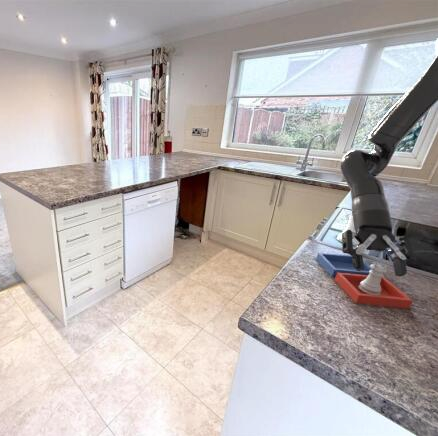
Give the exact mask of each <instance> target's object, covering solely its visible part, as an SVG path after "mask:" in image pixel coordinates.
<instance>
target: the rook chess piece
mask: <svg viewBox="0 0 438 436" xmlns="http://www.w3.org/2000/svg"><path fill="white" fill-rule="evenodd" d="M369 265H370V267H371V270H370V271H369V272H370V273H369V275H368V277H367V278H366V279H365V280H364V281H362V282H360V285H359V289H360V290H361V291H362V292H364V293H366V294H371V295H380V292H381V290H382V289H381V285H380V282H381V278H382V277H385V275H384V274H385V273H387V272H388V269H387V265H385V264H383V263H379V262H373V263H372V264H369Z"/></svg>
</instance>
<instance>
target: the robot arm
mask: <svg viewBox="0 0 438 436" xmlns="http://www.w3.org/2000/svg"><path fill="white" fill-rule="evenodd" d="M434 46H435V47H434V51H435V54H436V56H435V58H434V59H433V60H432V62H431V63H430V65H429V66H428V68H427V69H426V71H425V72H423V74H422V76H420V77H419V79H418V80H417V81H416V82H415V83H414V85H413V86H411V88H410V89H409V90H408V91H407V92H406V93H405V94H404V95H403V96H402V97H401V98H400V99H399V100H398V101H397V102H396V103H395V104H394V105H393V106H392V107H391V108H390V109H389V110H388V111H387V113H386V114H385V115H384V116H383V117H382V119H381V120H380V121H379V122H378V123H377V125H376V126H375V127H374V128H373V129H372V131H371V132H370V134H369V135H368V137H367V140H368V142H369V143H370V144H372V145H374V146H373V149H372V151H371V152H368V151H365V150H361V149H353V150H350V151H348V152H347V153H346V154H345V155H344V156H343V157H342V159H341V161H340V172H341V174H342V176H343V179H344V180H345V183H346V184H347V187H349V190H350V196H351V197H350V199H351V214H353V222H354V229H355V231H356V232H352V231H351V230H347V231H345V232H344V233H342V232H341V233H342V242H341V243H342V244H341V249H342V251H341V252H342V253H343V254H344V255H351V256H352V261H353V267H354V268H356V271H362V270H364V264H363V261H364V256H363V255H362V254H363V252H364V251H365V250H366V251H375V252H382V253H383V254H384V255H386V256H388V257H389V258H390V259H391V260H392V265H393V271H394V275H395V277H399V278H400V277H404V276H406V274H408V270H407V263H406V261H409V260H412V259H415V253H414V251H413V246H412V243H411V240H410V237H409V236H408V235H402V236H397V235H396V236H395V235H394V234H393V223H392V222H393V221H392V218H391V213H390V207H389V204H388V203H389V202H388V201H387V198H386V193H385V188H384V184H383V181H382V180H380V179H379V178H377V177H378V176H379V175H381V174H382V173H383V172H384V171H385V170H386V168H387V167H388V165H389V163H390V162H391V160H392V158H393V156H394V154H395V152H396V150H397V148H398V146H399V144H400V143H401V142H402V141H403V140H404V139H405V138H406V137H407V135H409V133H410V132H411V131H412V130H414V128H415V127H416V126H417V125H418V123H419V122H420V121H421V120H422V119H423V117H425V116H426V114H427V113H428V112H429V111H430V110H431V109H432V108H433V107H434V105H436V103H437V102H438V38H437V39H436V42H435V45H434ZM354 237H355V239H356V240H357V241H358V242H359V244H358V245H357V246H355V247H354V245H353V241H352V239H354Z"/></svg>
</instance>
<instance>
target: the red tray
mask: <svg viewBox="0 0 438 436" xmlns="http://www.w3.org/2000/svg"><path fill="white" fill-rule="evenodd" d="M367 277H368V275H359V274H348V273H337V275H336V277H334V281H335V282H336V283H337V284H338V285H339V286H340V287H341V289H343V291H344V292H345V293H346V294H347V295H348V296H349V297H350V299H352V301H354V303H356V304H362V305H363V304H364V305H372V306H381V307H392V308H401V309H410V307H411V305H412V304H413V302H414V300H413V299H412V298H411V297H409V296H408V295H407V294H406V293H404V292H403V291H402V290H401V289H400V288H399V287H397V286H395V284H393V283H392V282H391V281H390V280H388V279H387V278H386V277H385V276H383V277H382V278H381V282H380V285H381V289H382V290H381V292H380V295H371V294H366V293H364V292H362V291H361V290H360V289H359V285H360V282H362V281H364V280H365V279H366V278H367Z"/></svg>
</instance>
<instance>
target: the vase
mask: <svg viewBox="0 0 438 436" xmlns="http://www.w3.org/2000/svg"><path fill="white" fill-rule="evenodd" d="M347 230H351V231H352V232H356V231H355V229H354V222H353V214H352V213H350V214H349V218H348V221H347V224H346V226H345V228H344V229H343V230H342V231H341V232H340V234H338V235H337V237H336V239H337V240H338V241H339V242H341V243H342V233H344V232H345V231H347ZM352 241H353V247H354V246H355V247H356V246H357V245H358V244H359V242H358V241H357V240H356V239H355V237H354V239H352Z"/></svg>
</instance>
